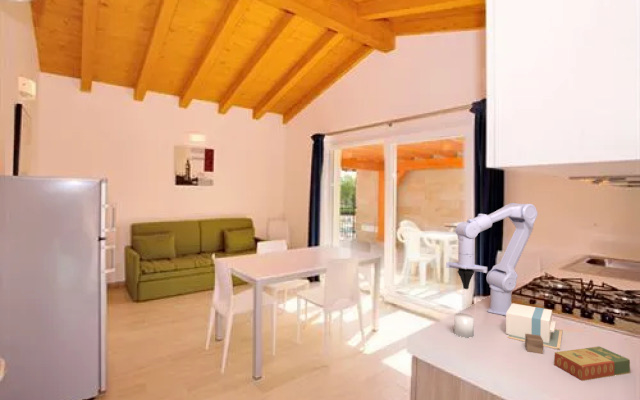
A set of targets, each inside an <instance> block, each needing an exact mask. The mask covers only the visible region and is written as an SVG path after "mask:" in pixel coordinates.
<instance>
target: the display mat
mask: <svg viewBox="0 0 640 400" xmlns="http://www.w3.org/2000/svg"><path fill="white" fill-rule="evenodd" d="M507 338H508V339H512V340H515V341H521V342H524V343H525V338H523V337H519V336H514V335H510V334H508V336H507ZM562 338H563V329H558V328H555V331H554V332H551V336H550V341H549V343H546V342H543V347H545V348H550V349H553V350H558V351H561V343H562Z"/></svg>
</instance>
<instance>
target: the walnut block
mask: <svg viewBox="0 0 640 400" xmlns="http://www.w3.org/2000/svg"><path fill="white" fill-rule="evenodd" d="M524 347H525V350H526V351H527V352H529V353H533V354H540V355H543V354H544V346H543V340H542V338H541V336H539V335H532V334H525V342H524Z"/></svg>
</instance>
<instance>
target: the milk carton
mask: <svg viewBox="0 0 640 400" xmlns="http://www.w3.org/2000/svg"><path fill="white" fill-rule="evenodd" d="M552 315H553V310H552V309H547V308H543V307H539V306H538V307H537V306H536V307H535V306H530V305H524V304H519V303H514V302H513V303H512V302H511V306H510V308H509V309H508V311H507V313H506V315H505V334H507V335H509V334H510V335H514V336H519V337H523V338H525V334H532V335H539V336H541V338H542V340H543V342H546V343H549V341H550V336H551V332H554V331H555V329H556V325H557V321H556V320H555V321H554V320H553V316H552Z"/></svg>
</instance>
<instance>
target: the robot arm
mask: <svg viewBox="0 0 640 400" xmlns="http://www.w3.org/2000/svg"><path fill="white" fill-rule="evenodd" d="M538 215H539V213H538V211H537V208H536V206H535V205H534V204H532V203H516V202H511V203H508V204H505V205H504V206H502V207H501V208H499V209H497V210H496V211H493V212H491V213H489V214H487V213H486V214H485V213H478V214H477V216H476V217H474V218H473V217H472V218H468V219H467V221H461V222H459V223H457V225H456V227H455V229H454V231H455V234H456V235H457V240H458V242H457V243H458V244H457V245H458V251H457V252H458V258H457V259H458V261H457V262H451V261H447V262H446V265H445V267H446V268H447V269H448V268H451V269H457V274H458V276H459V278H460V280H461V283H462V288H463V290H468V289H469V288H470V283H471V280H472V279H473V276H474V273H476V272H478V273H479V272H481V273H483V274H484V273H485V274H486V283H487V284H488V285H489V288H490V302H489V303H490V306H489V308H488V310H487V313H490V314H496V315H500V316H506V313H507V311H508V309H509V308H510V306H511V304H512V292H513V290H514V289H515V288H516V285H517V279H518V277H519V275H518V273H517V272H516V267H517V265H518V263H519V260H520V258H521V256H522V254H523V252H524V250H525V248H526V245H527V243H528V241H529V239H530V238H531V237H530V236H531V235H532V232H533V230H534V225H535V221H536V220H537V217H538ZM507 218H508V219H509V220H510V221H511V223H512V224H513V225H514V227H515V230H514V232H513V234H512V236H511V237H510V240H509V242H508V245H507V247H506V249H505V251H504V253H503V255H502V258H501V259H500V262H499V263H497V264H495V265H493V266H492V268H491V269H490V270H489V271H488V266H484V265H479V264H475V254H476V253H475V251H476V250H475V247H476V246H475V243H476V242H475V241H476V240H475V238H476V237H477V236H479V235H478V234H479V233H481V232H483V231H486V230H488V229H489V228H492V227H493V223H496V222H499V221H501V220H503V219H507Z"/></svg>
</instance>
